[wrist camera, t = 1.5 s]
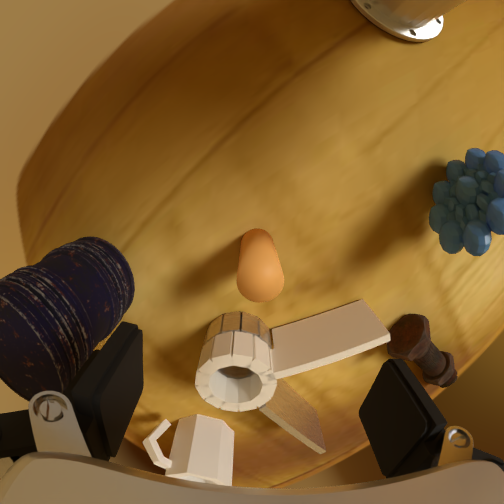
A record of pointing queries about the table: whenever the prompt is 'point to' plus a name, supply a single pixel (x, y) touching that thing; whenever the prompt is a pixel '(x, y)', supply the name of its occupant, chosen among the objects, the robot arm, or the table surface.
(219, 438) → the mug
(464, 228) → the grapes
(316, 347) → the hinge leaf cream
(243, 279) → the hinge pin
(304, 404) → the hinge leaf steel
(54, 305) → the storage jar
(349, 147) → the table surface
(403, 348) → the bolt
